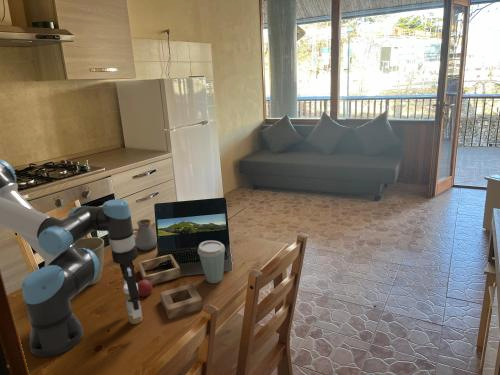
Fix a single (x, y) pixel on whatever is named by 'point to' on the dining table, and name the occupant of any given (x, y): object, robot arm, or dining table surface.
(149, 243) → the coffee pot
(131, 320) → the sprinkles bottle
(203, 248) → the disposable coffee cup
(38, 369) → the dining table surface
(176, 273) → the open square frame
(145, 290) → the fruit
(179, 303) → the collar block
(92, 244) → the plant pot
